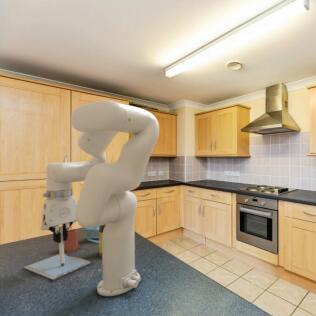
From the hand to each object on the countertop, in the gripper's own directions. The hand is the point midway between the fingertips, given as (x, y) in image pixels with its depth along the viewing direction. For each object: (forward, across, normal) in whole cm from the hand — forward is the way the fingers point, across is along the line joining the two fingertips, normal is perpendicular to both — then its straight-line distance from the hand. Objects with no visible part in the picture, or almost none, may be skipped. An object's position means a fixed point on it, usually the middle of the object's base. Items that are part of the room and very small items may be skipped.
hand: (60, 240), depth 82 cm
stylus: (+9, 0, -1) cm, 9 cm away
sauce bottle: (+11, +14, -6) cm, 19 cm away
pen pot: (+11, +10, +13) cm, 20 cm away
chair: (+11, +22, +14) cm, 29 cm away
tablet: (+10, 0, +2) cm, 11 cm away
